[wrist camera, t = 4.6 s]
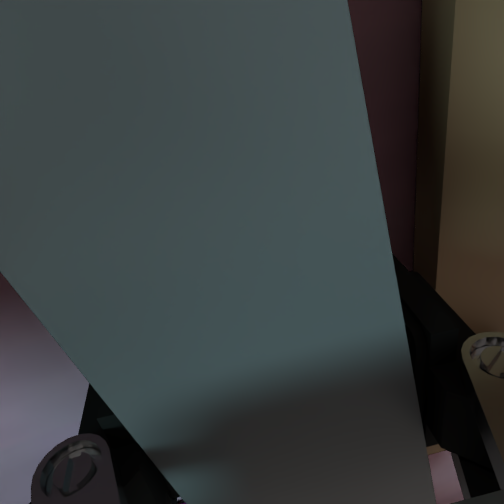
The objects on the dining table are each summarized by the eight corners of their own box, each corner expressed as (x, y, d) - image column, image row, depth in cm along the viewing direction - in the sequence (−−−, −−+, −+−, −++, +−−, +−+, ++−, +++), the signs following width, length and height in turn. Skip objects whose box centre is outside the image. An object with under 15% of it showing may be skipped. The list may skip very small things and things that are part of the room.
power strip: (-76, -108, 7) (-636, -360, 2) (204, -221, 7) (291, -763, 2) (269, 490, 17) (308, 685, 12) (385, 449, 17) (471, 628, 12)
